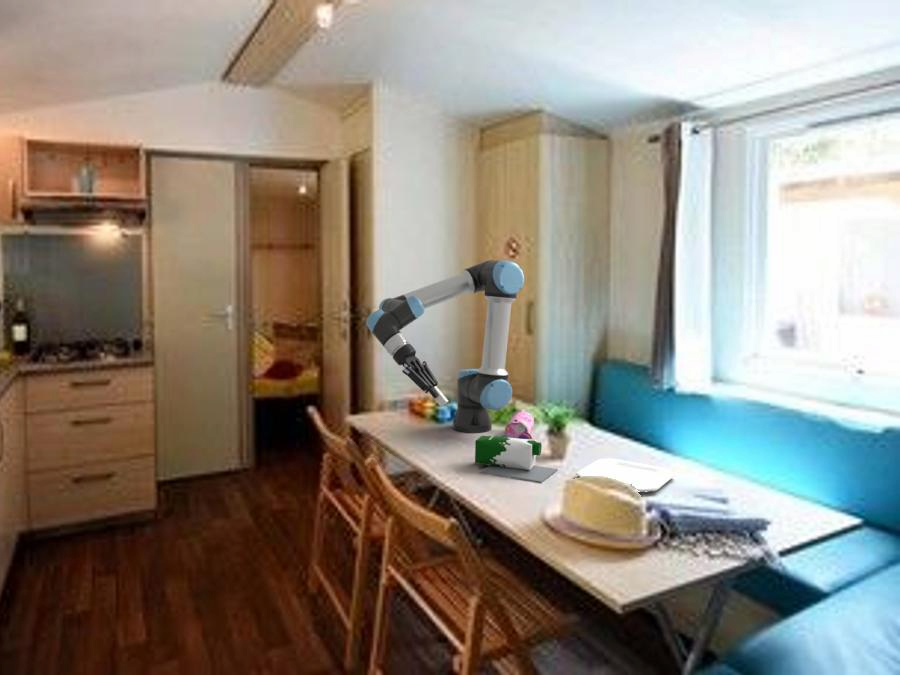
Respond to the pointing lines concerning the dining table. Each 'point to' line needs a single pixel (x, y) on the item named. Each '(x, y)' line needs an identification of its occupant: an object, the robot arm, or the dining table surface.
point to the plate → (629, 473)
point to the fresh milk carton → (507, 452)
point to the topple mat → (521, 473)
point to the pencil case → (519, 424)
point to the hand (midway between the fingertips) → (444, 404)
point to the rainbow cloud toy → (525, 436)
